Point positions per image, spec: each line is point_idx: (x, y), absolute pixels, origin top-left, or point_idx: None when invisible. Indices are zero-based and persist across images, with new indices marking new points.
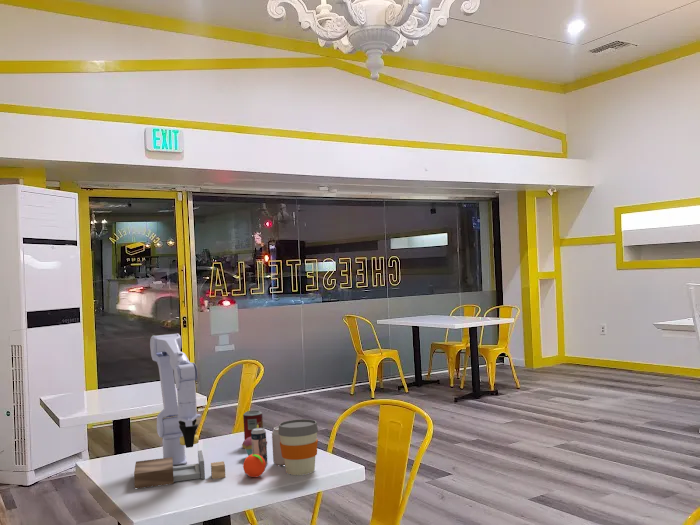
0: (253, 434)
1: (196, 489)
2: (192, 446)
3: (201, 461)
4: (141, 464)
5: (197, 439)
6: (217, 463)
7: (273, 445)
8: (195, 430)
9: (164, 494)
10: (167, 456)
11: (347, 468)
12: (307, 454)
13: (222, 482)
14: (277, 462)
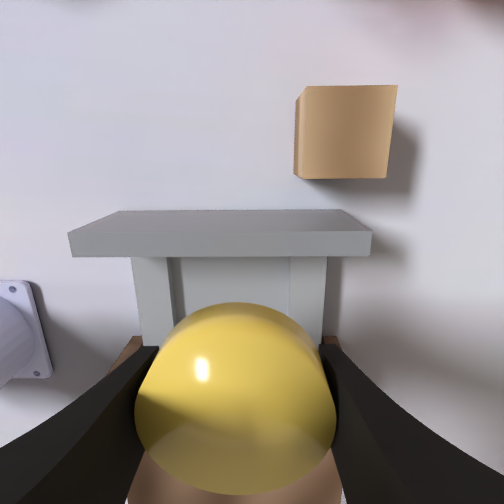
0: None
1: (480, 253)
2: (338, 349)
3: (370, 246)
4: (192, 491)
5: (284, 332)
6: (343, 135)
7: None
8: (496, 477)
9: (461, 367)
10: (3, 383)
11: None
12: None
13: (449, 124)
14: None
